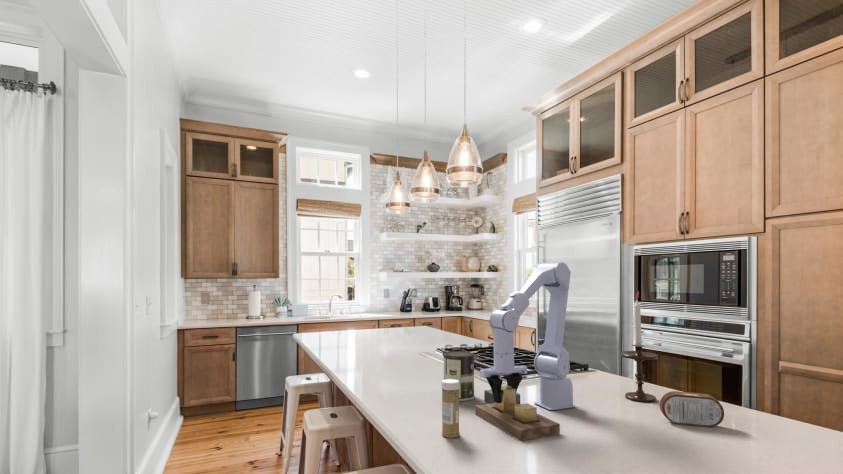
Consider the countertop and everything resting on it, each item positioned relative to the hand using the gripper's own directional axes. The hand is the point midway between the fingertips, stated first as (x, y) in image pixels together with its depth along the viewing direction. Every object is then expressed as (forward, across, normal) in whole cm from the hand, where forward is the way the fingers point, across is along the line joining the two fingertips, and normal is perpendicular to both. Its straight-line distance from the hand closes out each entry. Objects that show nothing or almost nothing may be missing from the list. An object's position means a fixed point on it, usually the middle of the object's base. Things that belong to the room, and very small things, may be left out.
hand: (504, 401), depth 125 cm
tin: (+5, -44, +24) cm, 50 cm away
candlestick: (+5, -52, 0) cm, 52 cm away
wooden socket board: (+5, 0, +5) cm, 7 cm away
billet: (+5, 0, +10) cm, 11 cm away
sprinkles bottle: (+5, +20, +6) cm, 21 cm away
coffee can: (+5, +2, -24) cm, 25 cm away
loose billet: (+2, 0, 0) cm, 2 cm away
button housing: (+4, -7, -12) cm, 15 cm away
